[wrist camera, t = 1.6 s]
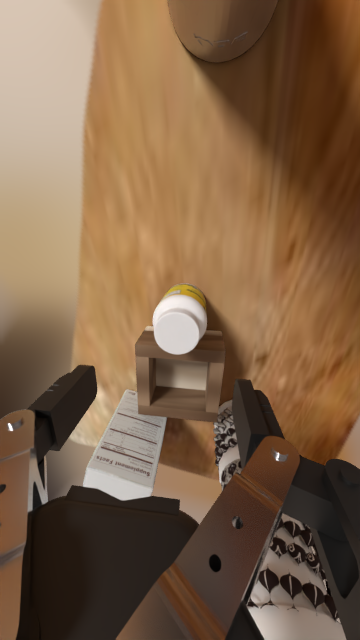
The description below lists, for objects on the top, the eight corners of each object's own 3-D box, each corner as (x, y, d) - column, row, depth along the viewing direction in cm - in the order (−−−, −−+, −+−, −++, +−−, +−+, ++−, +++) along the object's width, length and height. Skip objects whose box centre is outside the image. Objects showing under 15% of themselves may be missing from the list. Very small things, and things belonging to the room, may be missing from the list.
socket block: (147, 325, 29) (135, 344, 24) (221, 331, 28) (225, 351, 23) (148, 386, 32) (138, 414, 27) (214, 392, 32) (216, 422, 27)
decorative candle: (215, 391, 32) (254, 819, 8) (279, 401, 31) (509, 885, 8) (206, 436, 35) (213, 832, 12) (263, 446, 34) (390, 879, 11)
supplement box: (159, 434, 36) (137, 529, 24) (117, 420, 36) (74, 509, 24) (172, 401, 33) (155, 491, 21) (126, 386, 33) (83, 468, 21)
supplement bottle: (213, 312, 27) (218, 348, 18) (176, 329, 29) (164, 371, 20) (194, 274, 26) (189, 293, 17) (156, 294, 27) (133, 321, 18)
